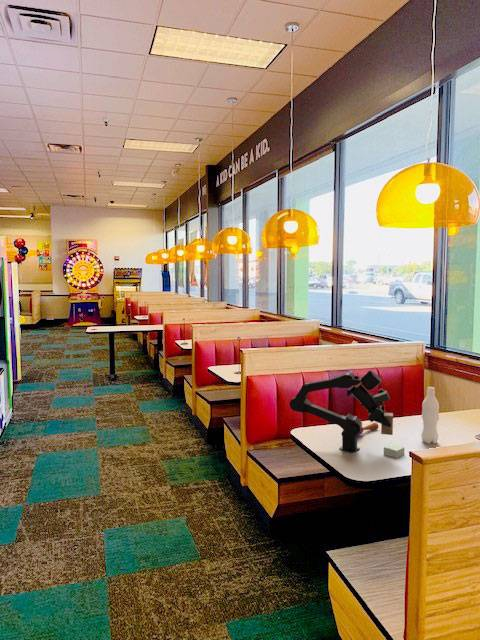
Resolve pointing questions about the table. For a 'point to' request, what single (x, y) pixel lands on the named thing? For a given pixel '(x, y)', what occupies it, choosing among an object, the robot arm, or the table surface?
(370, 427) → the kendama
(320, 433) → the table surface
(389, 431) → the walnut pillar
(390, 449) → the block
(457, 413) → the table surface
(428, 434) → the water bottle
